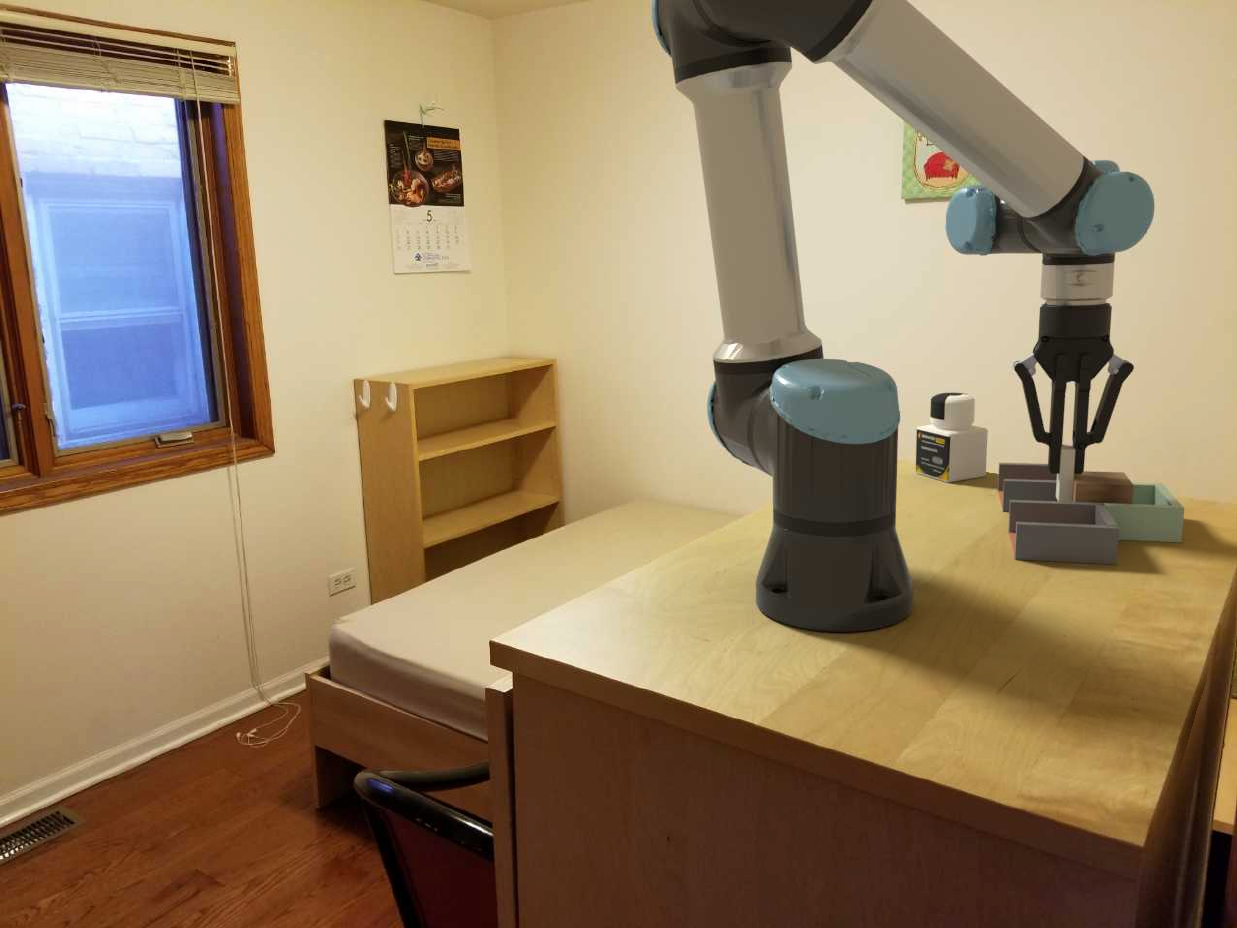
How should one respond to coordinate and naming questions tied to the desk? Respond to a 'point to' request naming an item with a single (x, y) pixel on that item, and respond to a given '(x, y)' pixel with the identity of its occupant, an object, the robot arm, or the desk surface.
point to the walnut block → (1102, 488)
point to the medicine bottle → (951, 440)
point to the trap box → (1080, 518)
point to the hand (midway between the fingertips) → (1063, 499)
